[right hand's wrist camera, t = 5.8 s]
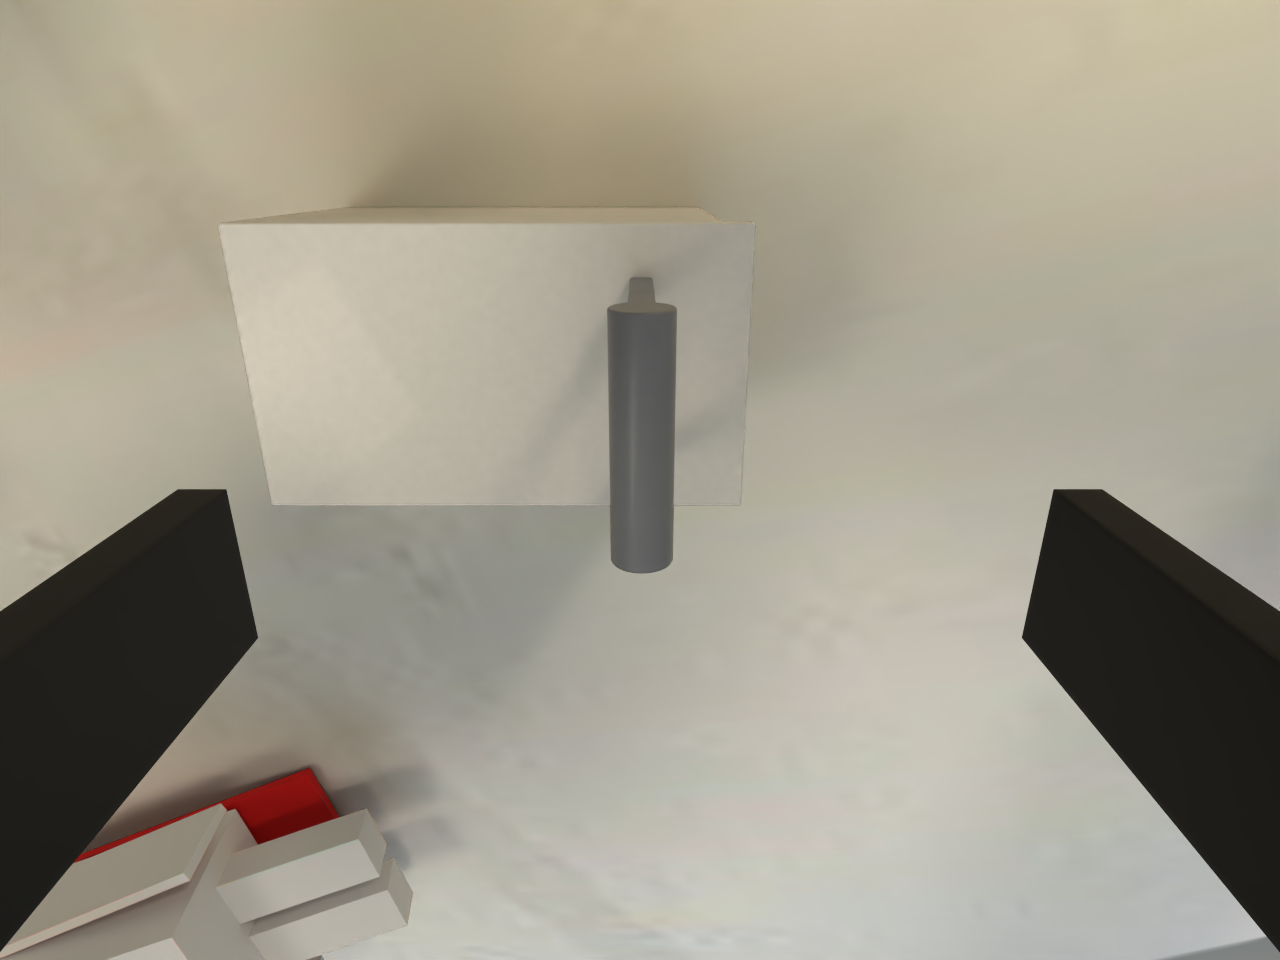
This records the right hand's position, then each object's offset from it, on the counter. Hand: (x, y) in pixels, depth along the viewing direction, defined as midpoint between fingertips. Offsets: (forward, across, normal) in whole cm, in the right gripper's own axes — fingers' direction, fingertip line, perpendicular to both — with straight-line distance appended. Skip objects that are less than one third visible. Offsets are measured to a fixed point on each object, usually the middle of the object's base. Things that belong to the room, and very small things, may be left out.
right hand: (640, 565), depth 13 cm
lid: (+14, -5, 0) cm, 14 cm away
